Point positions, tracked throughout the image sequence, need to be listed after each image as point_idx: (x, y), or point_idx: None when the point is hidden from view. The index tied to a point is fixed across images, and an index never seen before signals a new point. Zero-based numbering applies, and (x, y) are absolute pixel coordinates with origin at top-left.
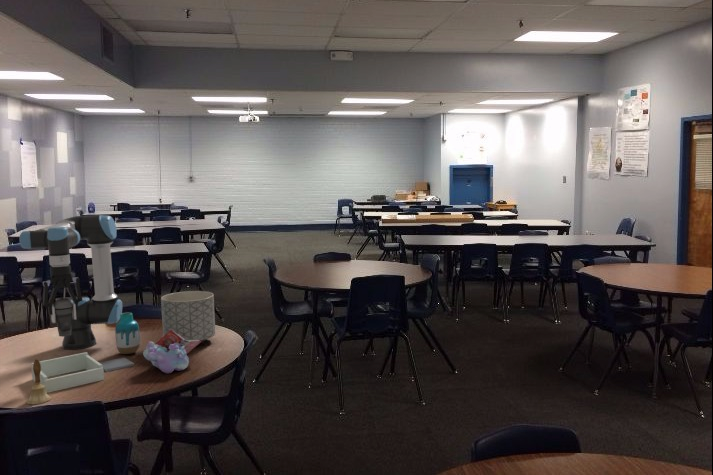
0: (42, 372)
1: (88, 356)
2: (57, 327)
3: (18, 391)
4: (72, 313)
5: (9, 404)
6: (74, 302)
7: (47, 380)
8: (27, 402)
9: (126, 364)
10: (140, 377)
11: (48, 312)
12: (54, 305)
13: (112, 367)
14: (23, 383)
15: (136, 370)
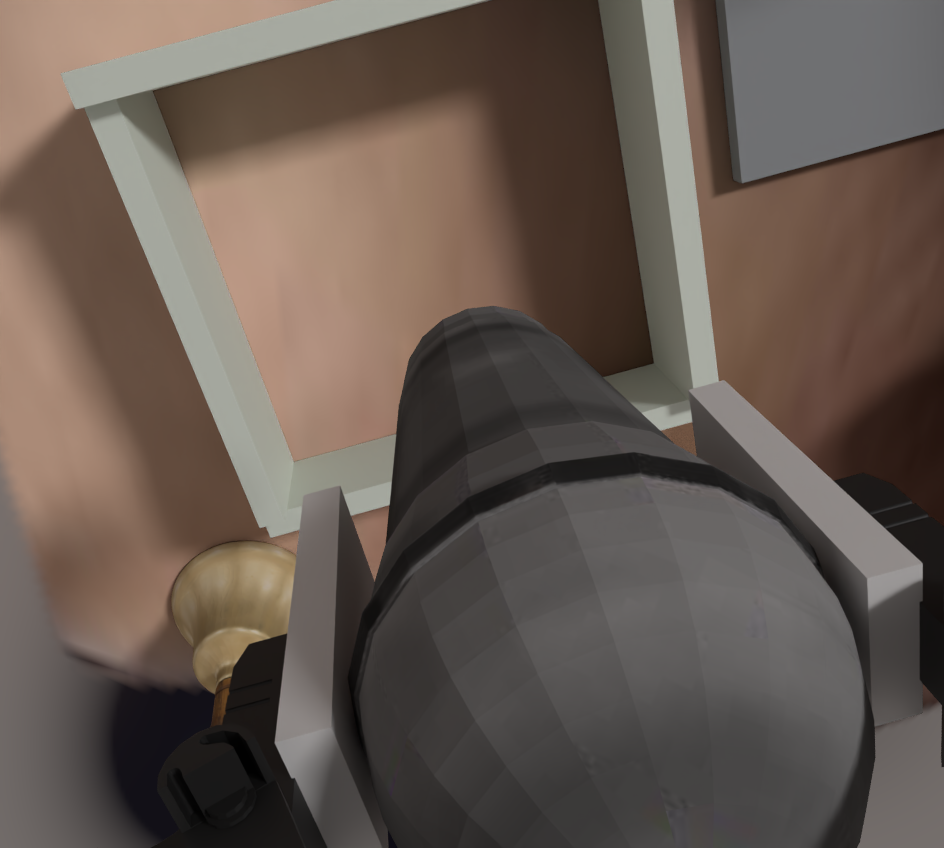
0: (229, 388)
1: (663, 28)
2: (396, 441)
3: (60, 359)
4: (735, 456)
5: (65, 600)
6: (939, 687)
7: (289, 531)
8: (183, 635)
9: (923, 116)
10: (898, 443)
11: (237, 699)
12: (392, 835)
13: (801, 146)
14: (51, 152)
15: (935, 266)
